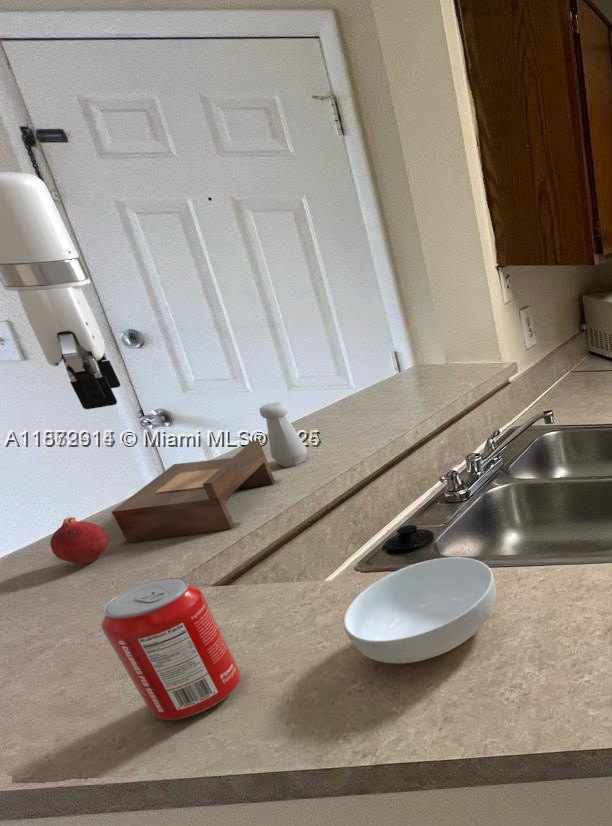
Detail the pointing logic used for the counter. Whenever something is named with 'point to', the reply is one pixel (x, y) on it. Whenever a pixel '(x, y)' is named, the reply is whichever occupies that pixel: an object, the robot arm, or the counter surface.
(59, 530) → the pomegranate
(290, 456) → the salt shaker
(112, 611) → the soda can
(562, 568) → the counter surface
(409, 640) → the cereal bowl
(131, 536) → the wooden display stand
